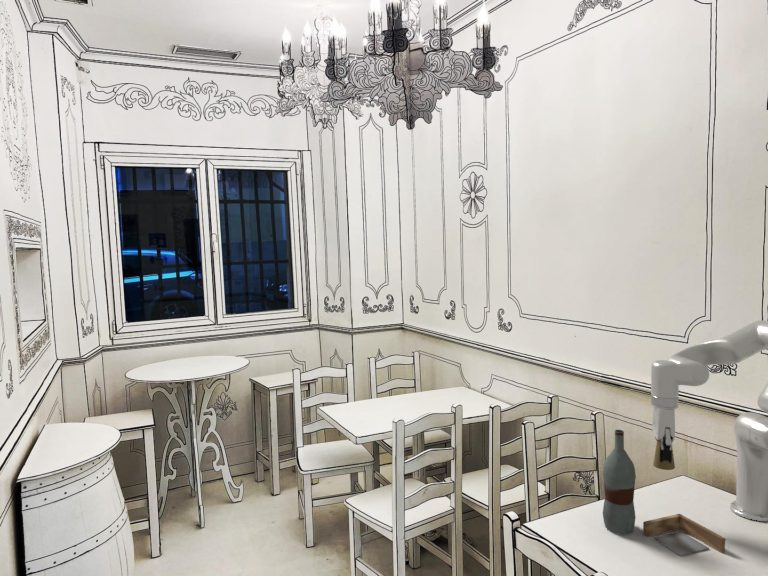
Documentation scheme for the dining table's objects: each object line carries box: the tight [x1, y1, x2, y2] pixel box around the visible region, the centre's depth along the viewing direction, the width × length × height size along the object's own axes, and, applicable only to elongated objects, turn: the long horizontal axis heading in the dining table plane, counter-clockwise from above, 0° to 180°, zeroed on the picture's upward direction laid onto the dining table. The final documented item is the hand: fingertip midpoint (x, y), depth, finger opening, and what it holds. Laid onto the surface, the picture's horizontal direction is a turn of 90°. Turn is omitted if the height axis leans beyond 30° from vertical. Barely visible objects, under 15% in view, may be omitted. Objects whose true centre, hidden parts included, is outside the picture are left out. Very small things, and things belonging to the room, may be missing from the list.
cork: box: [652, 436, 676, 471], centre depth 174 cm, size 6×6×11 cm
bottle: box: [602, 429, 637, 535], centre depth 169 cm, size 9×9×30 cm
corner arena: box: [642, 513, 726, 557], centre depth 161 cm, size 14×15×4 cm
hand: (664, 458), depth 174 cm, fingers closed on cork, 3 cm apart
